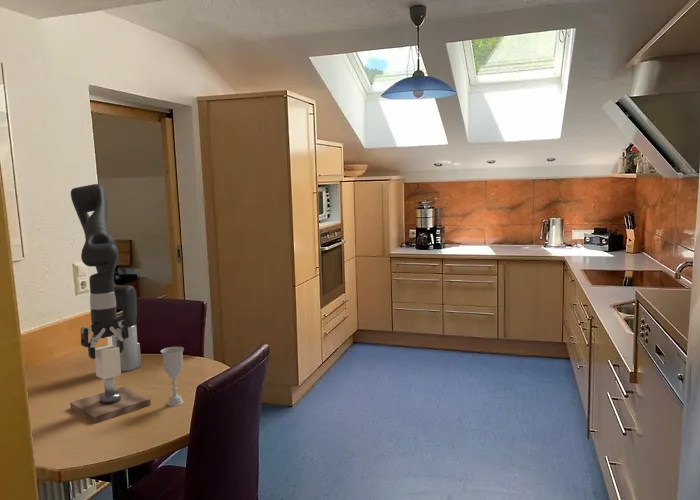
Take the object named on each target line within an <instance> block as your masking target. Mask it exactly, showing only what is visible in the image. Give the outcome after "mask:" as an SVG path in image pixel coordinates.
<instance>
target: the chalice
mask: <svg viewBox="0 0 700 500" xmlns="http://www.w3.org/2000/svg"><path fill="white" fill-rule="evenodd" d="M184 350H185V348H184V347H183V346H170V347H165V348H163V349H161V350H160V353H161V354H162V362H163V363H162V366H163V368H164V371H165V372H166V374H167V375H168V377H169V378H171V380H172V382H171V385H172V388H171V390H172V392H173V393H172V395H171V396H170V397H169V399H168V402H167V406H170V407H175V406H181V405H182V404H183V403H184V400H183V398H182V396H181V395H180V394H178V392H177V391H178V390H177V389H178V387H177V384H178V382H177V377H179V375H180V374H181V372H182V369H183V365H184V357H183V353H184Z"/></svg>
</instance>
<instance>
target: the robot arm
mask: <svg viewBox="0 0 700 500" xmlns="http://www.w3.org/2000/svg"><path fill="white" fill-rule="evenodd" d="M70 198H71V201H72V205H73V207H74V210H75V213H76V215H77V217H78V219H79V222H80V224H81V227H82V230H83V232H84V237H85V241H84V244H83V247H82V250H81V255H80V257H81V258H80V259H81V261H82V263H83V264H84V265H85V266H87V267H95V269H96V273H94V274H91V275H90V276H89V279H88V281H89V294H90V296H89V309H90V320H91V322H90V323H91V325H90V326H88V327H84V326H82V327H81V328H80V345H81V346H82V347H84V348H87V350H88V351H87V353H88V357H89V358H90V359H92V360H95V359H96V355H95V348H96V347H95V346H96V345H97V342H99V340H100V339H105V338H111V345H113V346H116V347H118V348H119V351H120V365H121V372H130V371H133V370H136V369H138V368H140V367H142V360H141V347H140V346H141V345H140V344H141V343H140V342H138V332H137V331H138V330H137V316H138V315H137V314H138V312H137V310H138V309H137V308H138V307H137V305H138V303H137V290H136V289H135V287H134V286H133V285H129V284H128V285H127V284H123V285H119V284H118V285H117V284H116V283H115V276H114V275H115V269H116V267H117V265H118V262H119V259H120V254H119V249H118V245H117V242H116V240H115V238H114V237H113V236H112V235H111V234H110V232H109V229H108V211H109V210H108V209H109V205H108V204H109V202H108V195H107V192H106V190H105V189H104V186H103V185H102V184H100V183H94V184H93V183H92V184H88V185H84V186H77V187H74V188H72V189H71V191H70ZM91 212H92V213H91ZM89 213H91V215H89ZM117 310H122V314H121V315H119V316H118V314H117ZM91 332H92V335H91V336H90V338H89V334H90V333H91Z"/></svg>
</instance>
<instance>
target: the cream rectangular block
mask: <svg viewBox="0 0 700 500" xmlns="http://www.w3.org/2000/svg"><path fill="white" fill-rule="evenodd" d="M95 355H96V359H94V364H95V365H94V366H95V367H94V368H95V377H98V378H100V379H102V380H104V379H108V378H111V377H114V378H115V377H118V376H122V371H121V365H120V351H119V348H118V347H116V346H113V345H112V344H109V345H104V346H100V347H95Z"/></svg>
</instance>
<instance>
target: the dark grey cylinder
mask: <svg viewBox="0 0 700 500" xmlns="http://www.w3.org/2000/svg"><path fill="white" fill-rule="evenodd" d="M103 387H104V388H103V389H104V392H105V393H104V392H102V393H103V394H101V395H100V396H99V401H100V404H113V403H116V402H119V401H120V400H121V393H120V392H119V391H115V389H116V388H115V377H111V378H108V379H103Z"/></svg>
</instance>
